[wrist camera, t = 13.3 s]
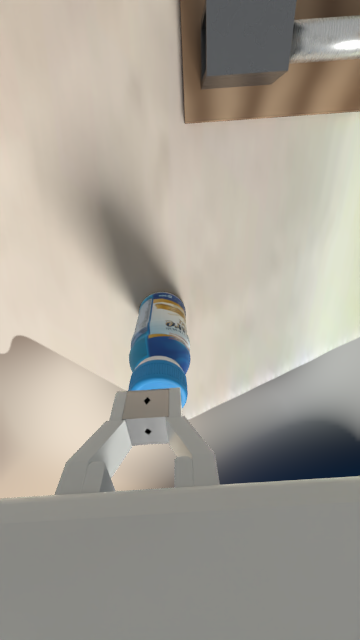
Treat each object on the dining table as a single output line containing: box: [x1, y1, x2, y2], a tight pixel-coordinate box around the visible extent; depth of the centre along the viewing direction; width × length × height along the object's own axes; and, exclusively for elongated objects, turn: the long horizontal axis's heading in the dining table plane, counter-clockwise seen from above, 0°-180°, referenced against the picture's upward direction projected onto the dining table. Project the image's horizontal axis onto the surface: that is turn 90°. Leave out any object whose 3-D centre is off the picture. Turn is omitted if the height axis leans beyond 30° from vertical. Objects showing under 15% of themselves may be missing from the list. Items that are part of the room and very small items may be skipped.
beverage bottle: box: [128, 292, 190, 408], centre depth 37 cm, size 8×8×20 cm
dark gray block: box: [201, 0, 297, 89], centre depth 26 cm, size 8×5×5 cm, turn 93°
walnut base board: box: [180, 0, 360, 124], centre depth 28 cm, size 29×11×1 cm, turn 93°
